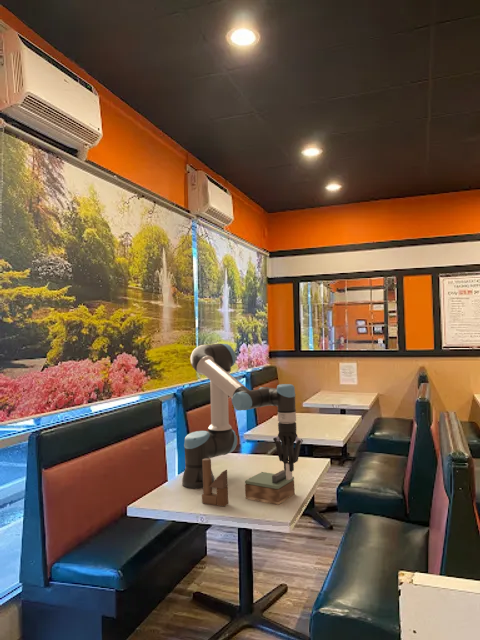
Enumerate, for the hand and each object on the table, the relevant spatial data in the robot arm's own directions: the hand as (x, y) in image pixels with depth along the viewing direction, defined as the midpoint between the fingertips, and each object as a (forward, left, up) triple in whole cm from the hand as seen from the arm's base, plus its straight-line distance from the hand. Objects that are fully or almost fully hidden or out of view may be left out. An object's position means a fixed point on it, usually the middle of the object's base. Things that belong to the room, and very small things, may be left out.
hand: (289, 478), depth 205 cm
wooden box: (-10, 0, -9) cm, 13 cm away
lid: (-10, 0, -3) cm, 10 cm away
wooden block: (-25, -18, -9) cm, 32 cm away
